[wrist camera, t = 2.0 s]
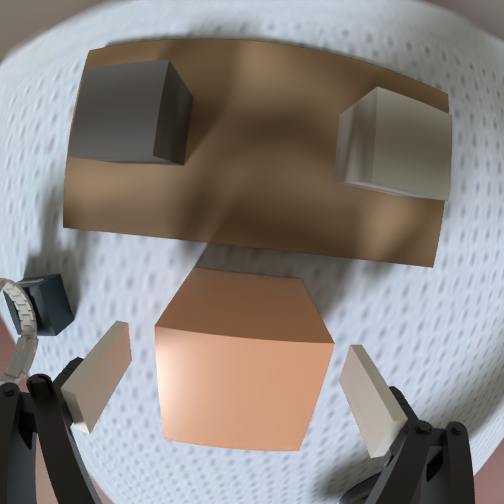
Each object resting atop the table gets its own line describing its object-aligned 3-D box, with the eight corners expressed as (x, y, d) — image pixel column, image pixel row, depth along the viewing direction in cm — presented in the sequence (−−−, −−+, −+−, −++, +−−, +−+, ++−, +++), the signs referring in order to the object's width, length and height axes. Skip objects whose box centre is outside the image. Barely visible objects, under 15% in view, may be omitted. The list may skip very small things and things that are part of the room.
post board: (423, 262, 20) (482, 293, 13) (73, 224, 19) (9, 243, 12) (437, 98, 17) (496, 76, 10) (97, 57, 16) (47, 20, 9)
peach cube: (283, 366, 22) (298, 450, 13) (190, 357, 22) (164, 438, 13) (300, 278, 20) (334, 343, 11) (193, 267, 20) (154, 326, 11)
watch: (54, 251, 20) (-41, 294, 9) (80, 337, 21) (12, 410, 11) (17, 259, 20) (-67, 297, 9) (41, 337, 21) (-24, 395, 11)
